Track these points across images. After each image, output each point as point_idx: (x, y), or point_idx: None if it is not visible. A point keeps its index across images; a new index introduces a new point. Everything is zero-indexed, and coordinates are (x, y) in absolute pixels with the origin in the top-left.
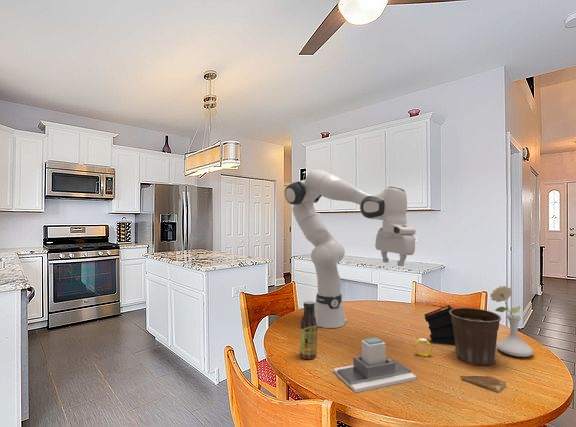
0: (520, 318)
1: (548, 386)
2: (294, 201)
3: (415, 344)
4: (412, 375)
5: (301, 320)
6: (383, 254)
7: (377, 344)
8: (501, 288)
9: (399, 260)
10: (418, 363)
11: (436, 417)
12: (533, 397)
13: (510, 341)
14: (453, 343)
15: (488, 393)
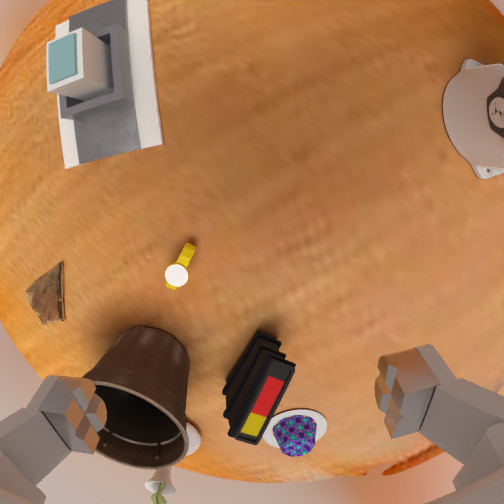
0: (146, 486)
1: (53, 374)
2: None
3: (183, 248)
4: (70, 161)
5: None
6: (480, 424)
7: (47, 67)
8: None
9: (27, 416)
10: (139, 217)
11: None
12: (21, 328)
13: None
14: (233, 369)
15: (24, 273)
